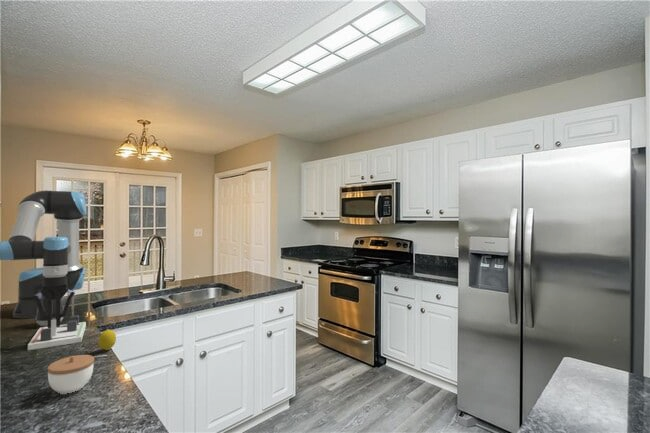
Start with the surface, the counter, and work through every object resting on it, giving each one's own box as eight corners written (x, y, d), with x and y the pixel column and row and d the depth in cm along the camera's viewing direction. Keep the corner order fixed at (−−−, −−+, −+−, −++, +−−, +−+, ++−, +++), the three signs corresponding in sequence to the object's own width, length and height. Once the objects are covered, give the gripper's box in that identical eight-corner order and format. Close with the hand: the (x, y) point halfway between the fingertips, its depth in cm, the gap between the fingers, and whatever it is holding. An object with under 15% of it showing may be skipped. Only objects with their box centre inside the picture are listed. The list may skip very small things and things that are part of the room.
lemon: (113, 346, 124) (114, 325, 124) (117, 350, 120) (117, 329, 120) (96, 350, 120) (97, 329, 121) (99, 354, 116) (100, 333, 117)
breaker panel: (39, 332, 138) (40, 327, 138) (85, 326, 146) (86, 321, 147) (27, 350, 119) (27, 344, 119) (81, 341, 128) (81, 336, 128)
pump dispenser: (38, 330, 140) (39, 296, 140) (32, 325, 146) (33, 292, 147) (67, 324, 148) (68, 292, 148) (60, 320, 154) (61, 288, 155)
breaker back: (70, 323, 142) (70, 316, 142) (78, 322, 144) (79, 315, 144) (69, 325, 140) (69, 317, 140) (78, 324, 141) (78, 316, 141)
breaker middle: (68, 329, 136) (68, 320, 136) (76, 327, 137) (77, 319, 137) (67, 331, 133) (67, 322, 133) (76, 330, 135) (76, 321, 135)
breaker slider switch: (42, 338, 125) (42, 329, 125) (52, 336, 127) (52, 328, 127) (40, 340, 122) (40, 331, 122) (50, 339, 124) (50, 330, 124)
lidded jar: (40, 402, 86) (41, 367, 86) (55, 383, 96) (56, 352, 96) (88, 394, 91) (88, 361, 91) (97, 377, 100) (98, 347, 101)
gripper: (31, 278, 119) (29, 341, 119) (74, 275, 126) (73, 335, 126) (35, 275, 126) (33, 335, 125) (77, 273, 133) (75, 329, 132)
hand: (53, 335), depth 126 cm, fingers closed
